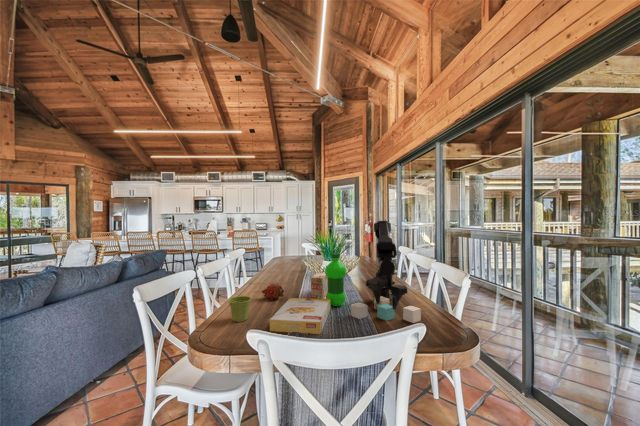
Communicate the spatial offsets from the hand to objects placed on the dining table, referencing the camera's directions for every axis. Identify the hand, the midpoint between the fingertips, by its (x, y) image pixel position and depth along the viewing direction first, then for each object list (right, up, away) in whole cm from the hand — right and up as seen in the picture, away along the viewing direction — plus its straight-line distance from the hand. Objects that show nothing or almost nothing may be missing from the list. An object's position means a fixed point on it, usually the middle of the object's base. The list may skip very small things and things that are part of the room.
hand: (385, 306), depth 122 cm
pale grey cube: (-11, -5, +2) cm, 12 cm away
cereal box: (-35, -6, -1) cm, 36 cm away
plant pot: (-62, -5, -1) cm, 62 cm away
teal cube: (0, -5, 0) cm, 5 cm away
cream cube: (+10, -5, -3) cm, 12 cm away
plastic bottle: (-20, -5, +17) cm, 27 cm away
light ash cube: (+1, -5, +11) cm, 12 cm away
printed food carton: (-27, -6, +34) cm, 44 cm away
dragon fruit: (-53, -6, +28) cm, 60 cm away
